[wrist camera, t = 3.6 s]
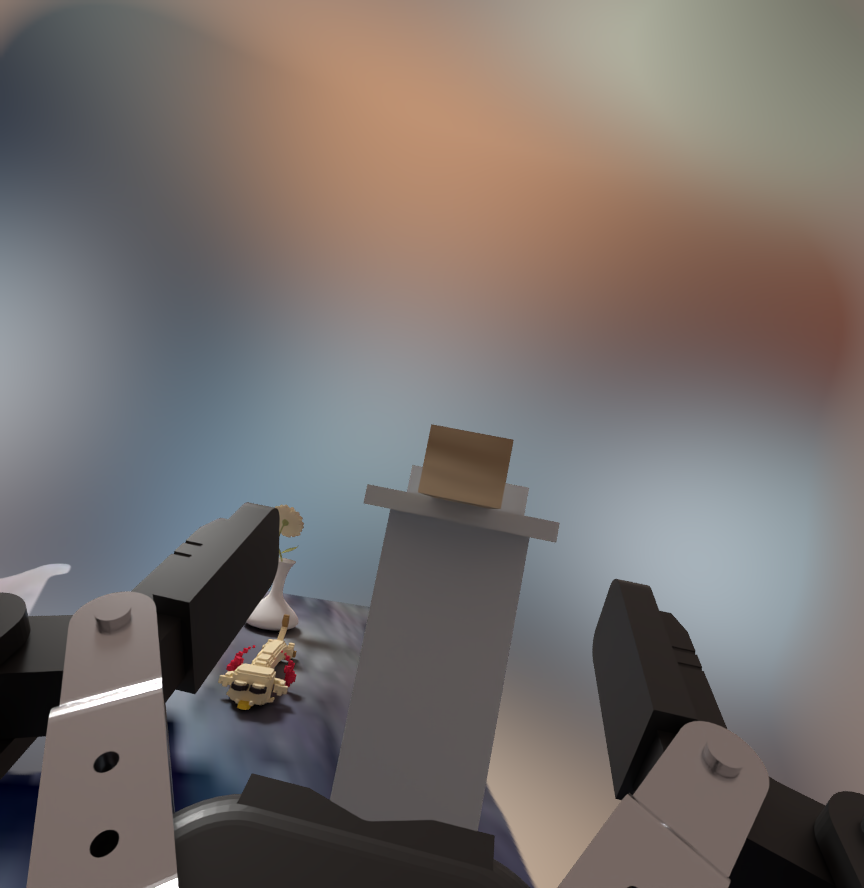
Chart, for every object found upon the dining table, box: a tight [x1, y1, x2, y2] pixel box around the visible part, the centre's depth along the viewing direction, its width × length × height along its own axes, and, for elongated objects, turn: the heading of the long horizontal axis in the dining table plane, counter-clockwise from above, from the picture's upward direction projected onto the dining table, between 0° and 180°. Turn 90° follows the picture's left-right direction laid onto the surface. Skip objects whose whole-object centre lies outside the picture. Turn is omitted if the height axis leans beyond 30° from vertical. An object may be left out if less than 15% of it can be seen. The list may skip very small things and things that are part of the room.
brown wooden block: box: [418, 425, 513, 509], centre depth 35 cm, size 26×4×3 cm, turn 176°
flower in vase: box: [246, 505, 304, 630], centre depth 110 cm, size 13×11×25 cm
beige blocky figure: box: [218, 614, 297, 710], centre depth 81 cm, size 10×9×25 cm
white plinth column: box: [330, 465, 559, 831], centre depth 42 cm, size 22×14×35 cm, turn 176°
